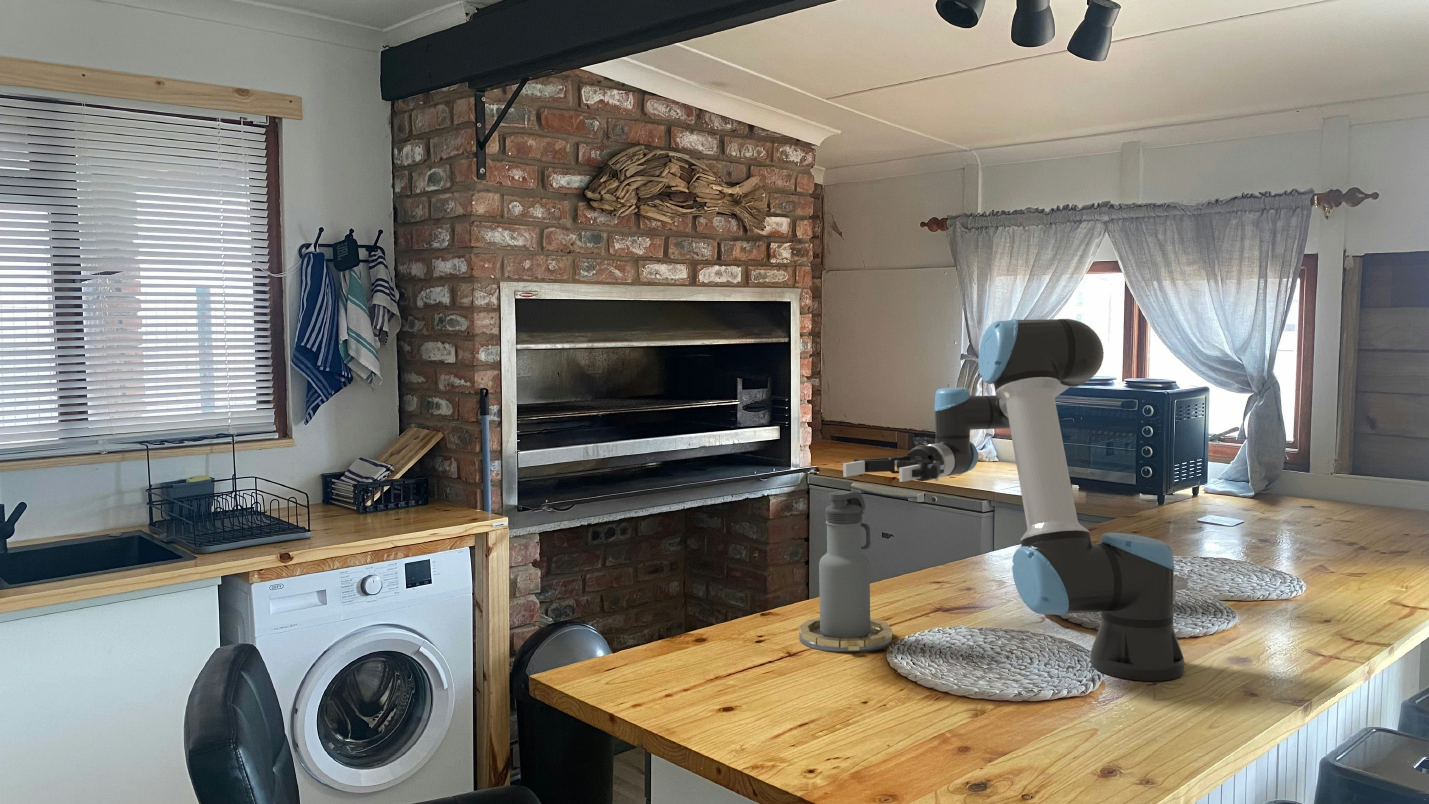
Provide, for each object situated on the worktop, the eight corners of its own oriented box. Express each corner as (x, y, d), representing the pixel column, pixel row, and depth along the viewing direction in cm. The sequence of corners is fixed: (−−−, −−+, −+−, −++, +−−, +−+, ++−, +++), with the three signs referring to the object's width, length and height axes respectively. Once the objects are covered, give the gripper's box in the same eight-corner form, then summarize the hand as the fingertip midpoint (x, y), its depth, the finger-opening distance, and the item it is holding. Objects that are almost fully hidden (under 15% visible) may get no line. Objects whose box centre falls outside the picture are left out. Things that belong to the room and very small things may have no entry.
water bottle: (838, 623, 206) (836, 487, 205) (880, 631, 200) (879, 490, 198) (810, 635, 198) (808, 493, 197) (853, 644, 192) (851, 497, 190)
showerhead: (1132, 568, 222) (1181, 570, 220) (1132, 601, 222) (1181, 603, 220) (1141, 579, 212) (1192, 580, 210) (1141, 613, 213) (1192, 614, 211)
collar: (902, 654, 189) (902, 642, 189) (805, 657, 188) (805, 645, 188) (881, 622, 210) (880, 611, 210) (794, 624, 210) (794, 614, 210)
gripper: (981, 484, 211) (925, 496, 196) (881, 475, 229) (823, 486, 213) (981, 448, 211) (925, 457, 196) (880, 442, 228) (822, 450, 213)
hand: (872, 472), depth 204 cm, fingers open, 13 cm apart
